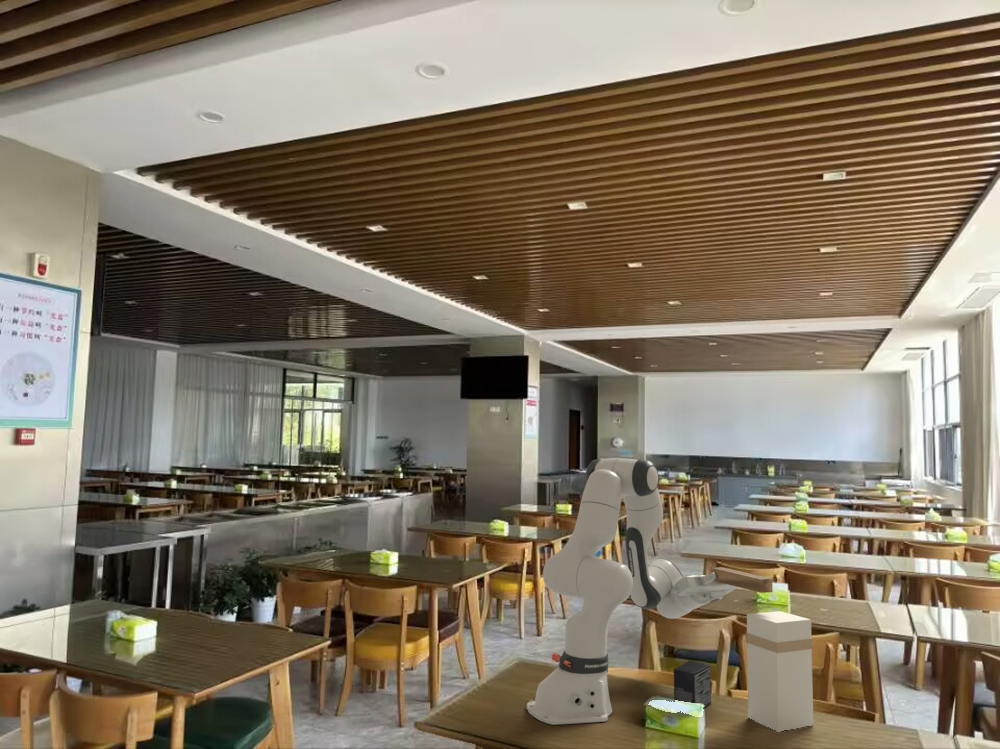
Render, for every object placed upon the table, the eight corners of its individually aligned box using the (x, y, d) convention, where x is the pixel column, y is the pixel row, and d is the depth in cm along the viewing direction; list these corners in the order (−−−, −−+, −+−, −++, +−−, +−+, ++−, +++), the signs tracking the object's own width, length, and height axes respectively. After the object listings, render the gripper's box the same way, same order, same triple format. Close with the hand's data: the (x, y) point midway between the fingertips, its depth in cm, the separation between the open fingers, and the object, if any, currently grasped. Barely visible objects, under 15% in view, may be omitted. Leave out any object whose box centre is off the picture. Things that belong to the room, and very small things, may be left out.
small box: (689, 698, 191) (689, 659, 192) (711, 704, 187) (711, 664, 188) (672, 708, 183) (672, 667, 184) (695, 714, 179) (695, 672, 180)
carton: (778, 732, 168) (776, 623, 171) (747, 717, 178) (746, 614, 181) (814, 726, 173) (811, 619, 177) (782, 711, 183) (780, 611, 186)
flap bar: (761, 592, 182) (761, 579, 182) (711, 580, 199) (711, 567, 200) (772, 592, 184) (772, 578, 184) (721, 579, 201) (721, 567, 201)
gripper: (664, 582, 205) (691, 565, 195) (717, 579, 214) (745, 562, 204) (670, 603, 202) (698, 587, 192) (724, 599, 210) (753, 583, 200)
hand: (723, 574), depth 198 cm, fingers closed on flap bar, 4 cm apart
